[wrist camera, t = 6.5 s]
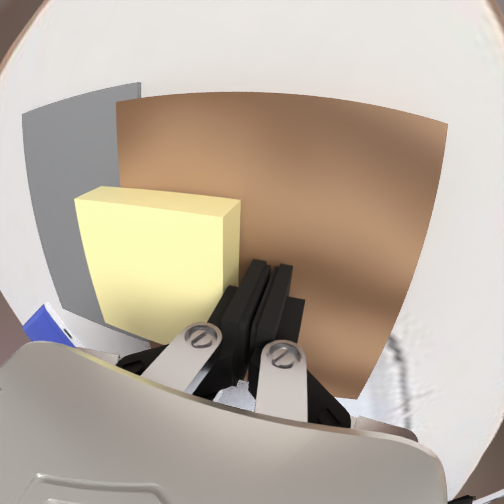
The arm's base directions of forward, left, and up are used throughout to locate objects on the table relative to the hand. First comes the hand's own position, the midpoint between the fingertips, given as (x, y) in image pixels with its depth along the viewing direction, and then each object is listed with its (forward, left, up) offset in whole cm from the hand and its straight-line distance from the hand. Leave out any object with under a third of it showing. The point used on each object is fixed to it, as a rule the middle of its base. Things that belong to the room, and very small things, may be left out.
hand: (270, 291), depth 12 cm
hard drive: (-17, +26, -4) cm, 31 cm away
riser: (0, +1, -3) cm, 3 cm away
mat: (0, +14, -3) cm, 14 cm away
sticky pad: (0, +5, -1) cm, 6 cm away
